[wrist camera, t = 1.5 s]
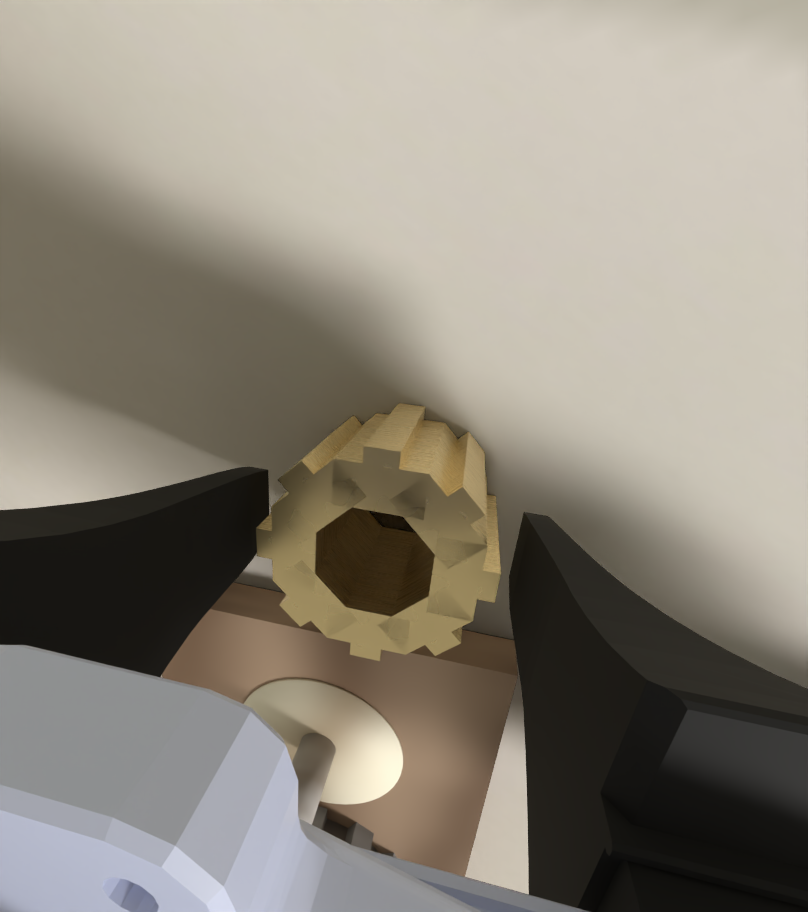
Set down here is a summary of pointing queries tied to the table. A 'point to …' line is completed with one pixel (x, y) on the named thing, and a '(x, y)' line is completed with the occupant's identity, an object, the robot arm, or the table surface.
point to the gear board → (365, 723)
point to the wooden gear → (386, 535)
